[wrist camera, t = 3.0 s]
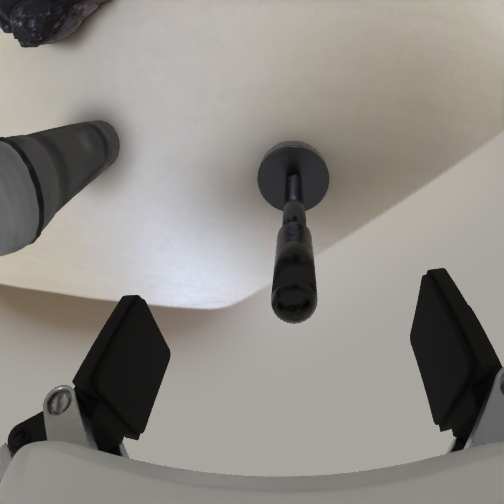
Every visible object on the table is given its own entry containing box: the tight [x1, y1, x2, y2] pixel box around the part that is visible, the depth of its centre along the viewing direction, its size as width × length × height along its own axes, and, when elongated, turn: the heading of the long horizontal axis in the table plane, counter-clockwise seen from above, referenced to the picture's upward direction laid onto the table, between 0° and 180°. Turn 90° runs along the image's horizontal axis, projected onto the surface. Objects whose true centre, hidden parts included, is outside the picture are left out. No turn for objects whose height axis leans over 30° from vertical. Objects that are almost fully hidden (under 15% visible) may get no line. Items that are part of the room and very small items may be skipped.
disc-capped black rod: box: [258, 141, 329, 324], centre depth 16 cm, size 5×5×16 cm
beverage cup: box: [0, 121, 119, 256], centre depth 15 cm, size 7×7×20 cm
